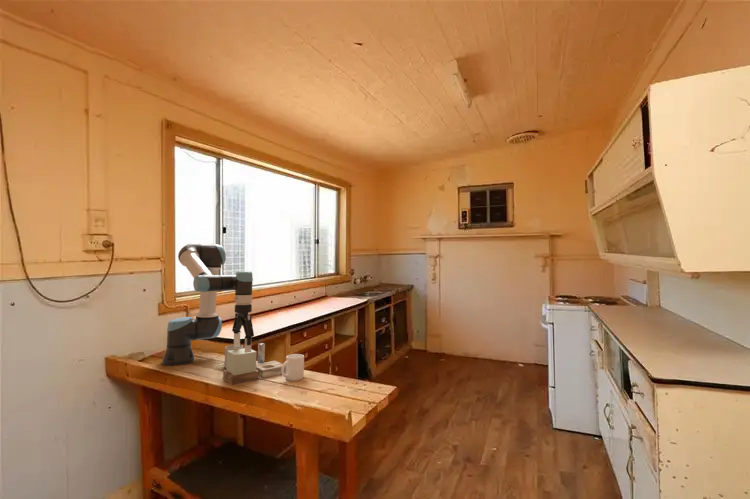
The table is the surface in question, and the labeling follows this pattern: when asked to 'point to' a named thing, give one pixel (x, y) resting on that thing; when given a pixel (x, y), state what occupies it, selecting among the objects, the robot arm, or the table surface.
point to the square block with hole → (269, 369)
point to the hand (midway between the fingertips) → (242, 349)
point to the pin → (261, 353)
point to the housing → (241, 361)
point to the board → (240, 377)
